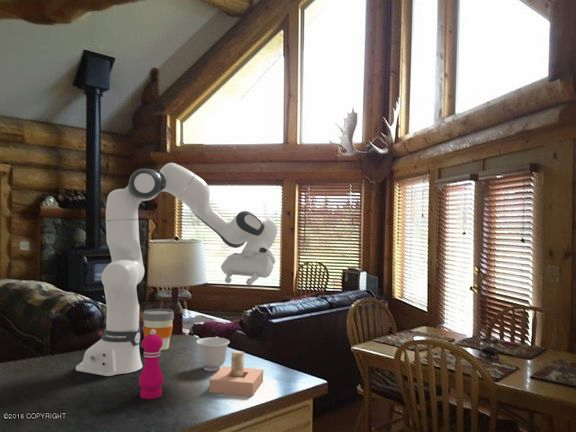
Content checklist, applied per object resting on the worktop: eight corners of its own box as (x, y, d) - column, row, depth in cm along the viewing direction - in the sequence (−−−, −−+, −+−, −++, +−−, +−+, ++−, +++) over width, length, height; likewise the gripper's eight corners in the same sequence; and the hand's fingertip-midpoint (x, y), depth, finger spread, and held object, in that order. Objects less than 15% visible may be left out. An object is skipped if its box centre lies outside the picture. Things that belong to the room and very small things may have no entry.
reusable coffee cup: (148, 343, 207) (149, 308, 207) (177, 344, 205) (178, 309, 206) (136, 350, 194) (137, 313, 194) (166, 352, 193) (167, 315, 193)
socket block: (209, 392, 150) (209, 379, 150) (222, 378, 164) (223, 366, 164) (252, 396, 147) (253, 383, 147) (263, 381, 161) (263, 369, 161)
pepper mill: (156, 401, 142) (158, 332, 142) (133, 398, 143) (135, 331, 143) (167, 392, 149) (169, 327, 149) (145, 390, 150) (147, 326, 150)
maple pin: (229, 388, 154) (230, 353, 154) (232, 384, 158) (233, 350, 158) (241, 389, 153) (242, 354, 153) (244, 385, 157) (245, 351, 157)
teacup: (232, 362, 182) (233, 335, 182) (226, 374, 167) (227, 346, 167) (200, 361, 182) (201, 334, 182) (191, 373, 167) (192, 344, 168)
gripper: (228, 247, 184) (210, 275, 175) (273, 250, 174) (257, 279, 165) (234, 258, 188) (218, 286, 179) (279, 261, 177) (264, 291, 169)
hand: (237, 283), depth 172 cm, fingers open, 8 cm apart
